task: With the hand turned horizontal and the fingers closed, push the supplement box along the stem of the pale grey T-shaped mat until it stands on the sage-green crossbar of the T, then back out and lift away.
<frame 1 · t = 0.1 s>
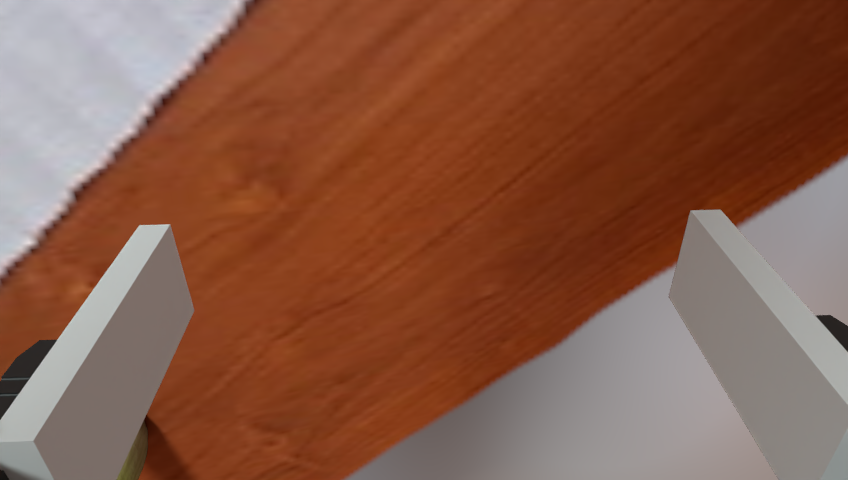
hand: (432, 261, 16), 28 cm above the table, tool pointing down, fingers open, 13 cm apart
fennel bulb: (126, 417, 58), on the table
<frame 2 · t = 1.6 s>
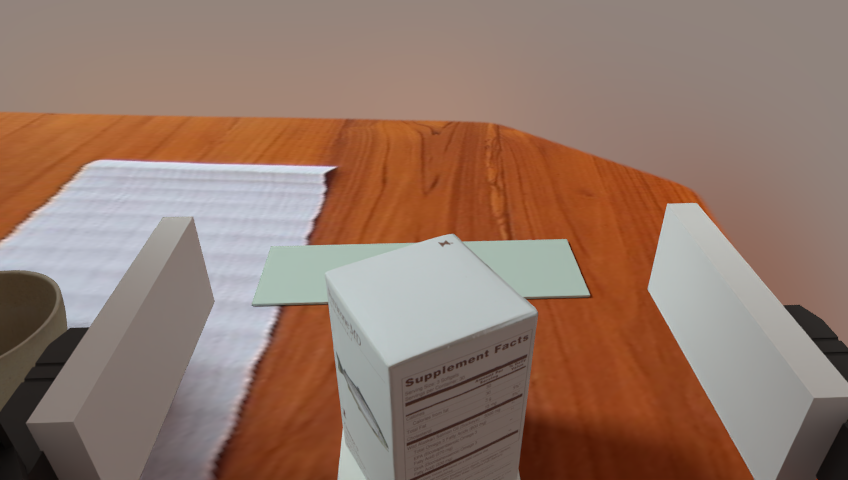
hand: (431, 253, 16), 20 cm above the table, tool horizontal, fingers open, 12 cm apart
t mat: (423, 356, 42), on the table
supplement box: (428, 469, 34), resting on t mat
flower pot: (11, 409, 38), on the table
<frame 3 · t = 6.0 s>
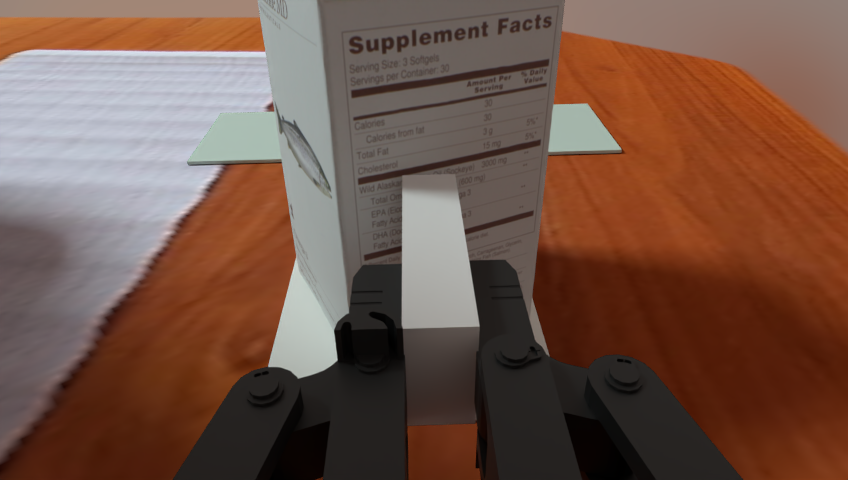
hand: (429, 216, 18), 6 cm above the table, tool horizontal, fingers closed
t mat: (406, 207, 31), on the table
supplement box: (408, 302, 25), resting on t mat
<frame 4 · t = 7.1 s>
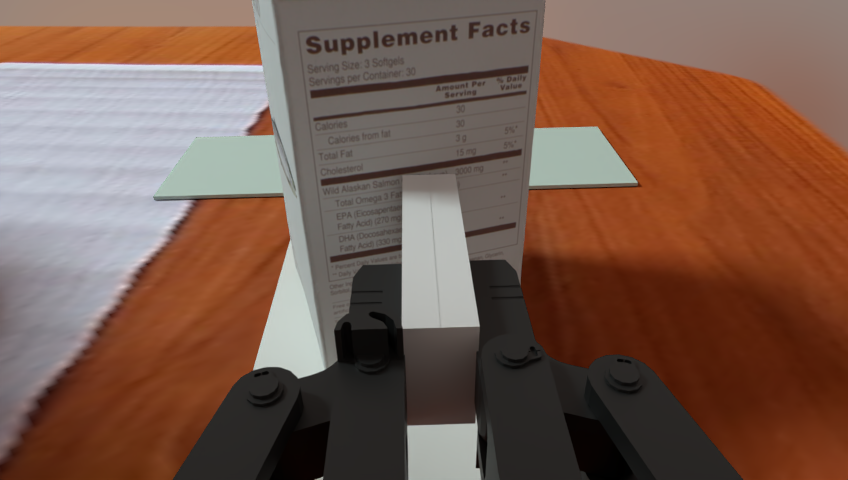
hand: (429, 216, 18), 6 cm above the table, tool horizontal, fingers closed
t mat: (397, 255, 27), on the table
supplement box: (398, 306, 24), resting on t mat, touching gripper
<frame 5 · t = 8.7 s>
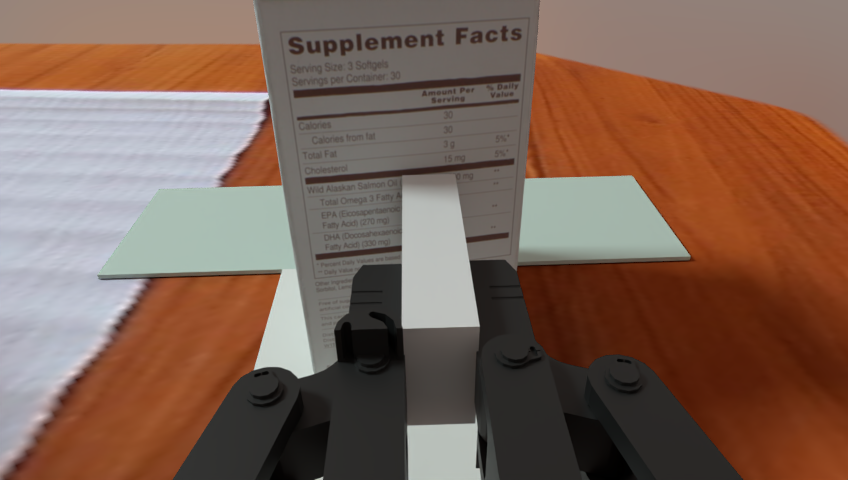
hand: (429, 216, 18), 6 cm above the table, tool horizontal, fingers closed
t mat: (396, 366, 22), on the table
supplement box: (399, 307, 24), resting on t mat, touching gripper
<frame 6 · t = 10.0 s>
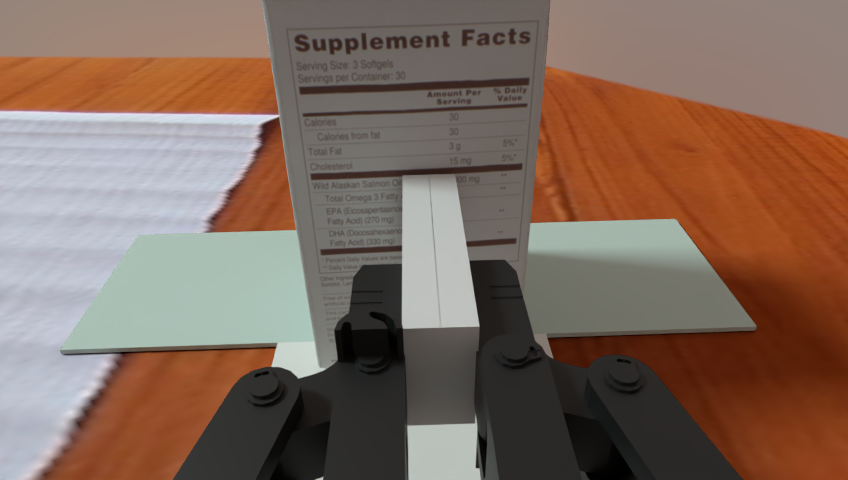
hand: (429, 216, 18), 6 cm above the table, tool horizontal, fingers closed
supplement box: (412, 307, 24), resting on t mat, touching gripper
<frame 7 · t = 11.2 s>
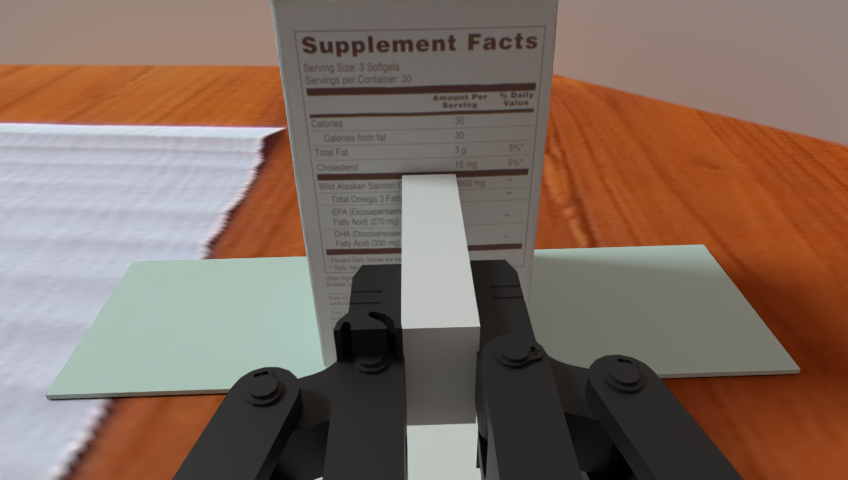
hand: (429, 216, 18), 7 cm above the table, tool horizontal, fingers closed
supplement box: (419, 309, 24), resting on t mat, touching gripper
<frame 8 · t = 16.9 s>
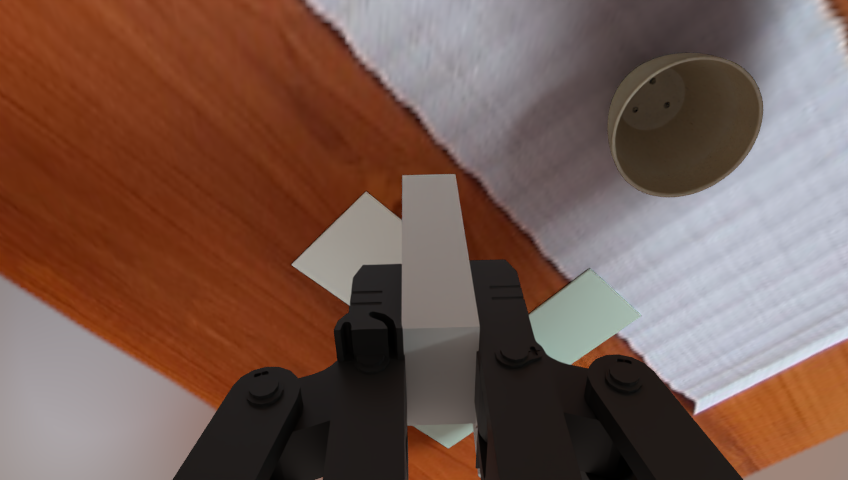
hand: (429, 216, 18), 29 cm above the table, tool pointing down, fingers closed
t mat: (442, 314, 58), on the table
flower pot: (649, 95, 47), on the table
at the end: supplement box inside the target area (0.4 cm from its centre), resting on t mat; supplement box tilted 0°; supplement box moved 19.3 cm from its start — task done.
